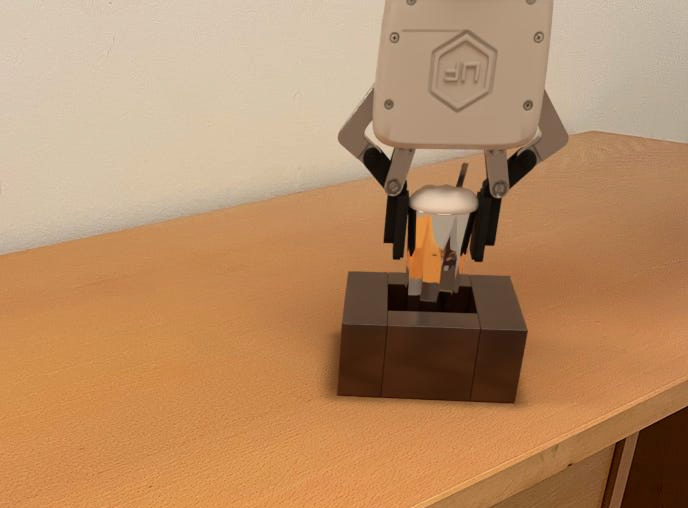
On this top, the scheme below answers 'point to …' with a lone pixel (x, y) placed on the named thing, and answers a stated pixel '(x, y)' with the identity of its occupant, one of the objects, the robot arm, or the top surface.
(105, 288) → the top surface
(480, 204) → the robot arm
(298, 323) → the top surface
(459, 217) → the milkshake
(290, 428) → the top surface
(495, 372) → the holder
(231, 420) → the top surface
